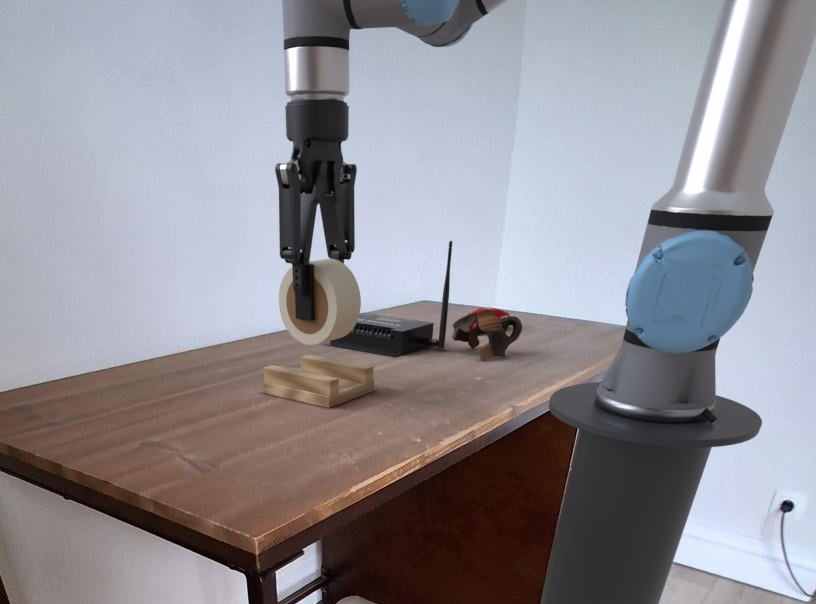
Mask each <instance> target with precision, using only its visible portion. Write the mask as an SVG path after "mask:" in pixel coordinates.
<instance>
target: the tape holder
mask: <svg viewBox="0 0 816 604" xmlns="http://www.w3.org/2000/svg"><path fill="white" fill-rule="evenodd" d="M374 369H375V368H374V365H368V364H363V363H358V362H352V361H346V360H340V359H336V358H330V357H325V356H324V357H323V356H318V355H313V354H307V355H302V356H301V357H300V369H294V368H289V367H284V366H279V365H274V364H272V365H268V366H265V367H263V382H262V387H263V388H262V391H263V392H262V393H263V394H265V395H270V396H275V397H278V398H283V399H288V400H292V401H296V402H301V403H306V404H310V405H315V406H318V407H323V408H327V409H330V408H332V407H336V406H337V405H338V406H339V405H340V404H343V403H346V402H349V401H351V400H353V399H356V398H358V397H362V396H364V395H366V394H369V393H372V392H374V391H375V380H374V373H375V372H374V371H375V370H374Z"/></svg>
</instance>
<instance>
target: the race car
mask: <svg viewBox="0 0 816 604" xmlns="http://www.w3.org/2000/svg"><path fill="white" fill-rule="evenodd" d="M486 309H492V310H493V311H494V316H496V317H497V318H499V319H503V318H506V317H509V316H510V313H509V312H507V311H505V310H502V309H499V308H495V307H480V308H477V309H474V310H473V311H472V312H469V313H468V314H467V315H469V314H471V313H474V312H478V311H481V310H486ZM475 327H476V322H475V323H474V324H473V326H472V327H471V329H472V328H475ZM483 332H484V331H482V330H481V331H479V332H478V333H477V335H478V336H479V335H480V334H481V333H483ZM484 333H485V332H484Z"/></svg>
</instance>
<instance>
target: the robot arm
mask: <svg viewBox="0 0 816 604" xmlns="http://www.w3.org/2000/svg"><path fill="white" fill-rule="evenodd" d="M509 1H510V0H281V4H282V27H283V52H284V55H283V57H284V58H283V59H284V91H285V92H284V93H285V95H286V96H287V97H288V98H290V101H288V102H286V105H285V110H284V111H285V131H286V132H285V134H286V135H285V136H286V138H287V140H288V141H289V142H292V151H291V155H290V160H289V161H286V162H280V163H279V162H278V163H276V164H275V166H274V171H275V177H276V181H277V185H278V186H277V187H278V217H279V218H278V225H279V227H278V229H279V233H278V234H279V257H280V258H281V259H282V260H284V262H285V263H286V264H291V267H292V270H293V289H294V292H295V310H296V319H302V320H309V321H313V320H315V301H314V265H312V264H308V263H309V261H311V260H310V259H311V252H312V245H313V239H314V231H315V223H316V215H317V209H318V205H319V210H320V214H321V222H322V228H323V229H322V230H323V235H324V240H325V248H326V253H327V257H328V259H335V260H338V261H340V262H342V263H343V264H345V260H347V261H349V260H351V258H352V253H354V252H355V248H356V243H355V242H356V241H355V240H356V239H355V238H356V237H355V235H356V234H355V231H356V230H355V229H356V227H355V222H356V221H355V220H356V219H355V185H356V184H355V183H356V180H357V179H356V178H357V173H358V172H357V171H358V168H357V164H356V163H346V162H345V161H344V156H343V152H342V142H346V141H347V140H348V139H349V123H350V122H349V120H350V117H349V116H350V115H349V114H350V113H349V111H350V106H349V105H348V102H347V101H345V97H348V96H349V94H350V35H351V34H350V33H351V30H363V29H364V30H365V29H380V28H381V29H382V28H396V29H399V30H401V31H403V32H404V33H407V34H409V35H411V36H414V37H416V38H418V39H419V40H420V41H421V42H423V43H424V44H426V45H429V46H431V47H434V48H448V47H452V46H454V45H457V44H458V43H461V41H462V40H463V39H464V38H465V37H466V36H467V35H468V33H469V32H470V31H471V29H472V27H473V25H474V23H477V22H478V21H479V20H481V19H482V18H484V17H485V16H487V15H488V14H490V13H492V12H493V11H495V10H496V9H498V8H499V7H501V6H503V5H504V4H506V3H508V2H509ZM815 39H816V0H721V2H720V6H719V9H718V13H717V16H716V21H715V24H714V28H713V33H712V36H711V39H710V44H709V47H708V51H707V54H706V58H705V62H704V66H703V68H702V69H703V70H702V73H701V76H700V81H699V85H698V89H697V92H696V96H695V100H694V102H693V106H692V112H691V115H690V118H689V122H688V125H687V130H686V134H685V137H684V141H683V145H682V148H681V153H680V156H679V161H678V163H677V168H676V172H675V176H674V179H673V183H672V186H671V187H670V188H669V190H668V191H666V193H664V194H663V195H662V196H661V197H660V198H659V199H657V200H656V201H655V202H654V203H653V204H652V205H651V208H650V211H649V216H648V220H647V224H646V227H645V231H644V235H643V239H642V242H641V247H640V251H639V254H638V258H637V263H636V266H635V270H634V271H633V272H634V274H633V275H632V276H631V278H630V280H629V281H628V285H627V289H626V293H625V301H624V302H625V303H624V305H625V314H626V317H627V321H626V325H625V329H624V334H623V338H622V342H621V345H620V348H619V349H618V351H617V353H616V354H615V356H614V358H613V360H612V362H610V365H609V367H608V369H607V371H606V372H605V374H603V375H604V376H603V377H602V379H601V381H600V382H601V383H600V385H599V387H598V389H597V393H596V397H595V404H596V406H597V407H598V408H600V409H601V410H603V411H605V412H607V413H610V414H613V415H616V416H619V417H623V418H627V419H631V420H636V421H642V422H650V423H660V424H689V423H696V422H701V421H704V420H708V421H709V422H710V423H713V422H714V421H715V420H716V419H717V418H716V417H715V416H714V415H713V413H712V412H713V409H714V406H715V403H716V400H715V399H716V395H717V387H716V386H717V385H716V381H717V380H716V356H717V355H716V354H717V350H718V347H719V344H720V341H721V338H722V337H723V336H725V335H726V334H727V333H728V332H729V331H730V330H731V329H732V328H733V327H734V326H735V324H736V323H737V322H738V321H739V320H740V318H741V317H742V315H743V314H744V313H745V311H746V308H747V307H748V305H749V303H750V300H751V298H752V294H753V290H754V287H753V283H754V280H755V277H754V271H755V269H756V265H757V263H758V260H759V257H760V254H761V251H762V249H763V245H764V243H765V239H766V237H767V233H768V231H769V228H770V225H771V222H772V219H773V217H774V213H775V210H774V208H773V206H772V205H771V203H770V200H769V199H768V196H767V195H766V186H767V183H768V181H769V178H770V174H771V172H772V168H773V165H774V162H775V159H776V156H777V153H778V150H779V147H780V144H781V141H782V138H783V136H784V132H785V129H786V126H787V123H788V120H789V118H790V114H791V111H792V107H793V105H794V102H795V99H796V96H797V93H798V90H799V87H800V84H801V81H802V78H803V75H804V71H805V69H806V66H807V63H808V60H809V57H810V54H811V50H812V47H813V45H814V41H815Z"/></svg>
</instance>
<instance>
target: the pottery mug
mask: <svg viewBox="0 0 816 604" xmlns="http://www.w3.org/2000/svg"><path fill="white" fill-rule="evenodd" d="M470 313H471V314H469V315H468V314H466V315H464V316H462V317H461V318H459V319H458V320H456V321H455V322H454V323H453V324H452V327H453V330H454V331H453V334H452V339H453V341H455V342H457V341H459V342H463V343H467V344H468V346H469V347H470V348H471V349H472V350H473V349H475V348H477V347H478V346H479V345H480V339H479V337H478V336H479V335H477V333H478V332H479V331H481V330H482V331H484V333H486V336H487V339H488V343H486V344H483V345H481V346H479V347H478V353H479V356H480V357H479V358H480V360H481V361H484V360H487V359H488V360H489V359H491V358H496V357H498V358H500V357H502V358H505V357H506V351H507V349H508V348H509V346H510V345H511V344H512V343H514V342H517V340H518V338H519V337H520V336H521V334H522V331H523V323H521V322H522V321H521V320H520V318H519V317H517V316H516V315H515V316H514V315H509V317H506V318H503V319H499V318H497V317H496V316H494V311H493V310H492V309H486V310H481V311H478V312H474V313H472V312H470ZM475 322H476V327H475V328H472V329H471V327H472V326H473V324H474V323H475ZM510 326H512V332H511V334H510V335H507V329H508V328H509V327H510Z"/></svg>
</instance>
